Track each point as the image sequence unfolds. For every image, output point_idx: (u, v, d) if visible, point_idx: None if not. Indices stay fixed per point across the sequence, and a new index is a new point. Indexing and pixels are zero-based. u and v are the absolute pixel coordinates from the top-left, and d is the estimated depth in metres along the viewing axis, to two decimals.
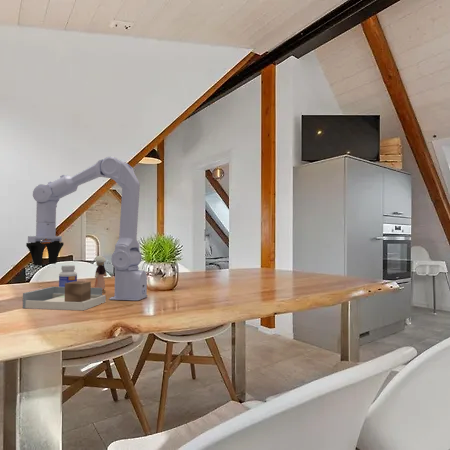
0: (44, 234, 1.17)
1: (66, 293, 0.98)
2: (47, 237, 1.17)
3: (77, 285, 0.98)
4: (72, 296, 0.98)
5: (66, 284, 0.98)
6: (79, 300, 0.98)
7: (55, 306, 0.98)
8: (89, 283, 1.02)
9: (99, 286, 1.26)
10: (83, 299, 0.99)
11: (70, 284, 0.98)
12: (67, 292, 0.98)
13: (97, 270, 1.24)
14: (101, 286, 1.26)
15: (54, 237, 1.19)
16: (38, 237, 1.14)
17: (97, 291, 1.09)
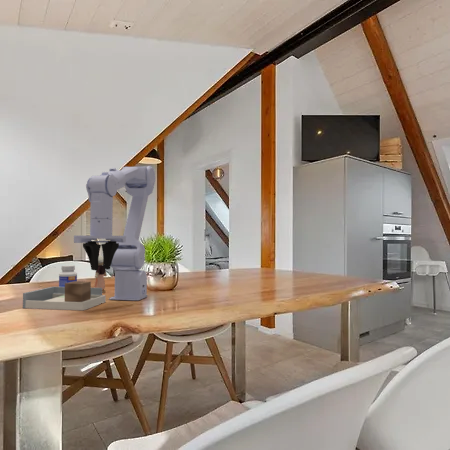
0: (95, 233, 0.97)
1: (66, 293, 0.98)
2: (97, 237, 0.96)
3: (77, 285, 0.98)
4: (72, 296, 0.98)
5: (66, 284, 0.98)
6: (79, 300, 0.98)
7: (55, 306, 0.98)
8: (89, 283, 1.02)
9: (99, 286, 1.26)
10: (83, 299, 0.99)
11: (70, 284, 0.98)
12: (67, 292, 0.98)
13: (97, 270, 1.24)
14: (101, 286, 1.26)
15: (107, 237, 0.98)
16: (85, 237, 0.95)
17: (97, 291, 1.09)
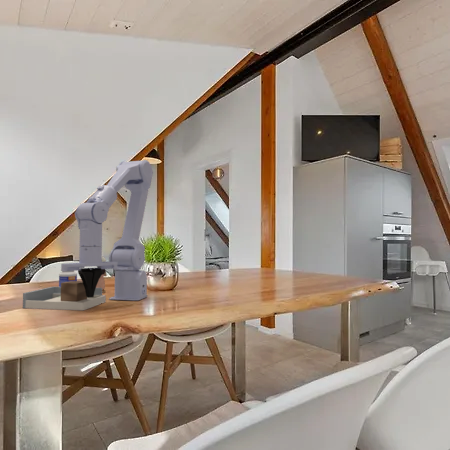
0: (82, 261, 0.97)
1: (62, 292, 0.99)
2: (84, 265, 0.97)
3: (72, 285, 0.98)
4: (68, 295, 0.98)
5: (62, 284, 0.99)
6: (74, 300, 0.98)
7: (55, 306, 0.98)
8: None
9: (99, 286, 1.26)
10: (78, 299, 0.99)
11: (66, 284, 0.99)
12: (63, 291, 0.99)
13: None
14: (101, 286, 1.26)
15: (94, 264, 0.98)
16: (71, 265, 0.96)
17: (97, 291, 1.09)
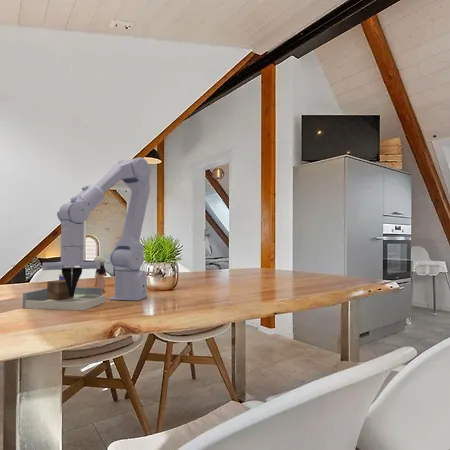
0: (61, 260, 0.99)
1: (48, 291, 1.02)
2: (62, 264, 0.98)
3: (55, 284, 1.00)
4: (52, 294, 1.01)
5: (48, 282, 1.02)
6: (57, 298, 1.00)
7: (55, 306, 0.98)
8: (71, 282, 1.03)
9: (99, 286, 1.26)
10: (61, 298, 1.01)
11: (51, 282, 1.01)
12: (48, 290, 1.02)
13: (97, 270, 1.24)
14: (101, 286, 1.26)
15: (72, 264, 0.98)
16: (50, 265, 0.97)
17: (97, 291, 1.09)
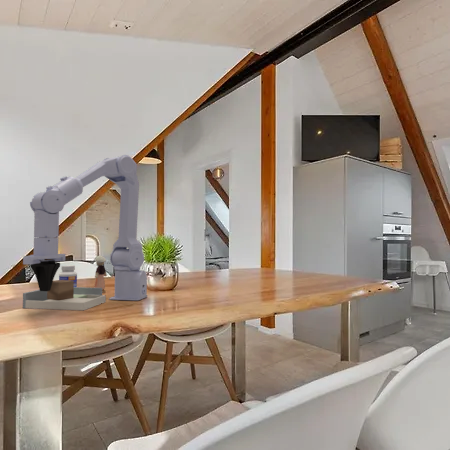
0: (44, 253, 0.92)
1: (48, 291, 1.02)
2: (48, 257, 0.92)
3: (55, 284, 1.00)
4: (52, 294, 1.01)
5: None
6: (57, 298, 1.00)
7: (55, 306, 0.98)
8: (71, 282, 1.03)
9: (99, 286, 1.26)
10: (61, 298, 1.01)
11: None
12: None
13: (97, 270, 1.24)
14: (101, 286, 1.26)
15: (56, 256, 0.95)
16: (37, 258, 0.89)
17: (97, 291, 1.09)
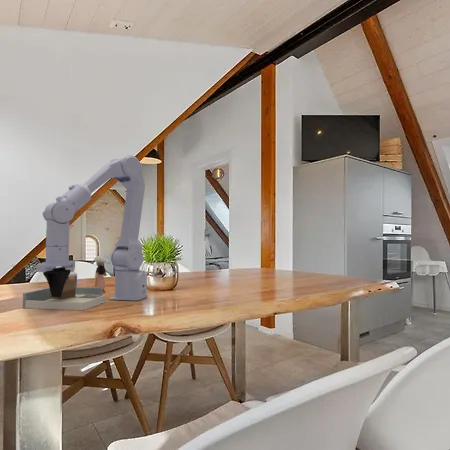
0: (56, 261, 0.97)
1: None
2: (59, 264, 0.97)
3: None
4: None
5: None
6: (59, 297, 1.01)
7: (55, 306, 0.98)
8: (73, 281, 1.05)
9: (99, 286, 1.26)
10: (64, 297, 1.02)
11: None
12: None
13: (97, 270, 1.24)
14: (101, 286, 1.26)
15: (67, 264, 0.99)
16: (49, 265, 0.94)
17: (97, 291, 1.09)
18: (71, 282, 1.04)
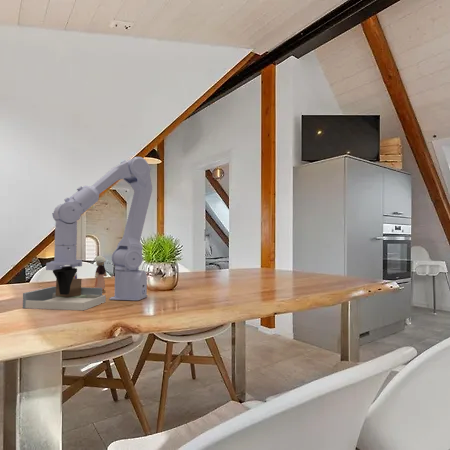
0: (64, 259, 1.01)
1: (57, 288, 1.06)
2: (67, 263, 1.01)
3: None
4: None
5: None
6: (66, 295, 1.04)
7: (55, 306, 0.98)
8: (79, 280, 1.08)
9: (99, 286, 1.26)
10: (70, 294, 1.05)
11: None
12: (57, 287, 1.06)
13: (97, 270, 1.24)
14: (101, 286, 1.26)
15: (75, 262, 1.03)
16: (58, 264, 0.98)
17: (97, 291, 1.09)
18: (77, 280, 1.07)
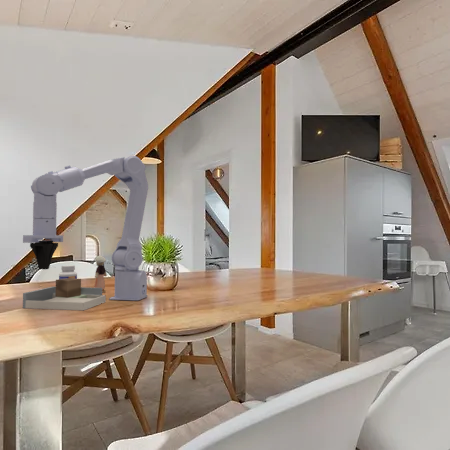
0: (43, 233, 0.98)
1: (56, 289, 1.06)
2: (46, 236, 0.97)
3: (64, 282, 1.05)
4: (61, 291, 1.05)
5: (56, 280, 1.06)
6: (66, 296, 1.04)
7: (55, 306, 0.98)
8: (79, 280, 1.08)
9: (99, 286, 1.26)
10: (70, 295, 1.05)
11: (59, 280, 1.06)
12: (57, 288, 1.06)
13: (97, 270, 1.24)
14: (101, 286, 1.26)
15: (54, 236, 1.00)
16: (36, 237, 0.95)
17: (97, 291, 1.09)
18: (76, 281, 1.07)
